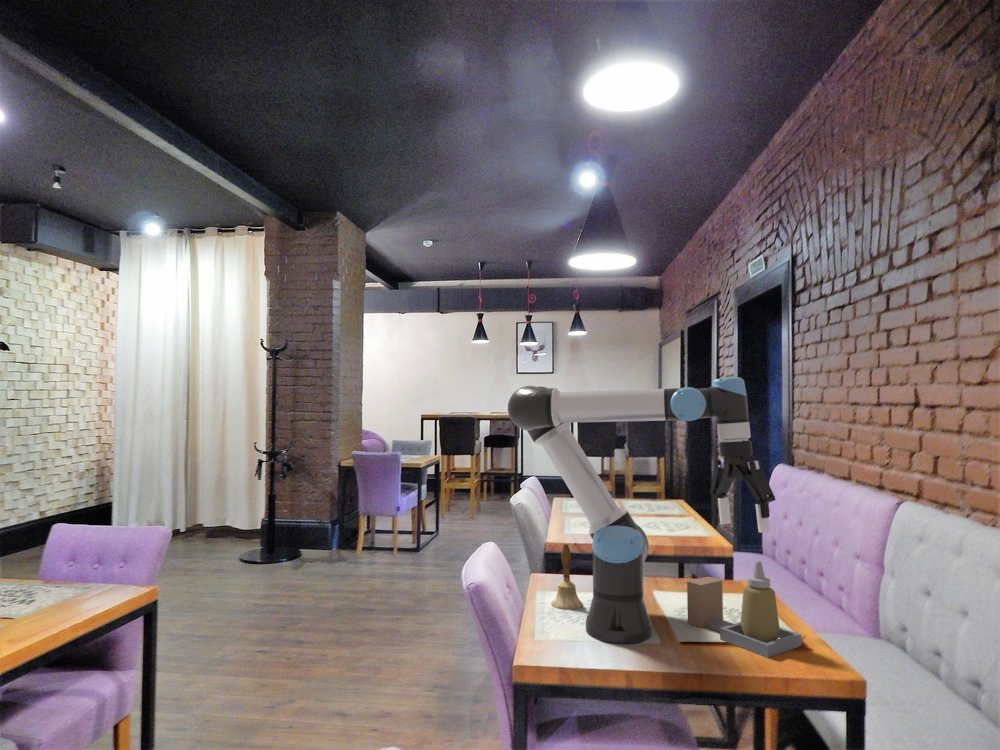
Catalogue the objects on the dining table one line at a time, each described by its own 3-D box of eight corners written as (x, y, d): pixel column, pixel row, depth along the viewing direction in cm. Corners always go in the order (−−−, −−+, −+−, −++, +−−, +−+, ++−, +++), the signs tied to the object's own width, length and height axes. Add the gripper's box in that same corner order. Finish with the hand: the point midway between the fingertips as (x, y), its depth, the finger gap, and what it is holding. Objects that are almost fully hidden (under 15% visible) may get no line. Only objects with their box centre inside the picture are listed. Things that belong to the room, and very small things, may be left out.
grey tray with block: (682, 624, 146) (681, 582, 147) (714, 615, 153) (714, 575, 153) (767, 657, 127) (766, 609, 127) (801, 646, 133) (800, 599, 134)
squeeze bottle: (738, 646, 133) (737, 563, 134) (742, 634, 140) (741, 555, 141) (779, 653, 130) (777, 568, 131) (781, 640, 137) (779, 559, 138)
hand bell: (572, 611, 156) (572, 549, 157) (545, 605, 161) (545, 544, 162) (588, 603, 163) (587, 543, 164) (561, 597, 168) (561, 539, 168)
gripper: (785, 439, 138) (795, 533, 137) (715, 438, 162) (723, 519, 160) (758, 441, 136) (768, 537, 134) (691, 441, 160) (699, 522, 158)
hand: (744, 527), depth 147 cm, fingers open, 13 cm apart
